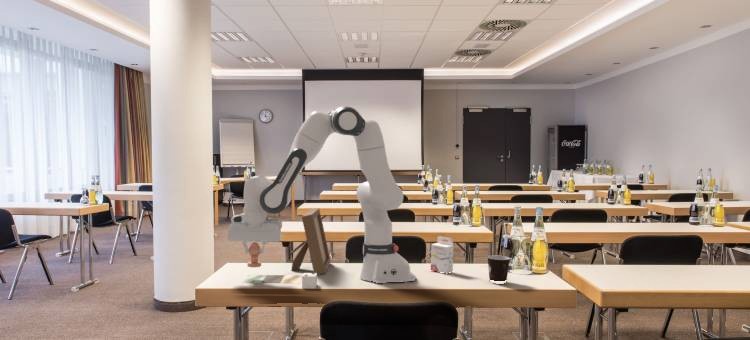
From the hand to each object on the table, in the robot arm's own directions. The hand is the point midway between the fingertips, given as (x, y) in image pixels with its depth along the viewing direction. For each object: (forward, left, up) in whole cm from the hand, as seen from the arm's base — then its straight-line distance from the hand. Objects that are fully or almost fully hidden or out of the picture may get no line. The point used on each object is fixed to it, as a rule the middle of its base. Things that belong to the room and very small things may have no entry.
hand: (254, 252), depth 194 cm
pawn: (0, 0, -5) cm, 5 cm away
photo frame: (-20, -19, -11) cm, 30 cm away
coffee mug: (-95, +2, -11) cm, 96 cm away
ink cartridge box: (-76, -16, -11) cm, 79 cm away
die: (-22, +10, -11) cm, 27 cm away
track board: (-7, 0, -11) cm, 13 cm away
